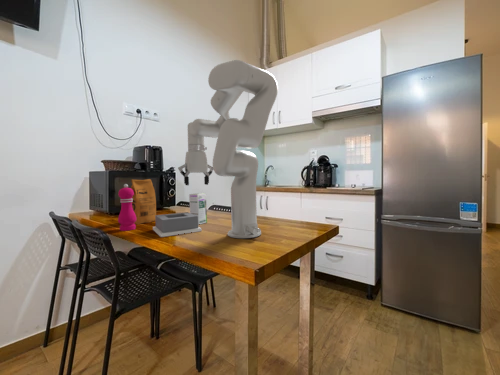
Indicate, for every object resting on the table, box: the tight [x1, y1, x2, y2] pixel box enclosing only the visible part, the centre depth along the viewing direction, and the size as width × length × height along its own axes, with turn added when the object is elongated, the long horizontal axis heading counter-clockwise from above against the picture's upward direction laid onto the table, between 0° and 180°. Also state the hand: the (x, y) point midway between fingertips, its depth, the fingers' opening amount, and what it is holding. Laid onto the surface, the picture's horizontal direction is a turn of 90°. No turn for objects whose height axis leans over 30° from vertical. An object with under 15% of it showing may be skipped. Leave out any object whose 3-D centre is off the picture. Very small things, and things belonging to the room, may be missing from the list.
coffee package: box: [130, 178, 157, 225], centre depth 120 cm, size 10×12×22 cm
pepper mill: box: [117, 183, 137, 232], centre depth 103 cm, size 7×7×20 cm
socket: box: [152, 211, 202, 238], centre depth 99 cm, size 16×16×6 cm
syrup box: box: [188, 192, 208, 226], centre depth 114 cm, size 6×6×14 cm
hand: (196, 184), depth 113 cm, fingers open, 9 cm apart
